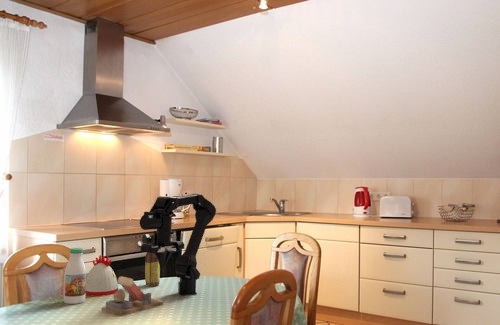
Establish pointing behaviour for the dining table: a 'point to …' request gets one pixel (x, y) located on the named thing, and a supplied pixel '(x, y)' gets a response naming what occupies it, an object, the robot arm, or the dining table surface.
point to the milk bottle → (75, 278)
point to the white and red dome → (101, 278)
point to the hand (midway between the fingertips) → (162, 268)
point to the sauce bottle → (152, 270)
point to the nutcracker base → (134, 307)
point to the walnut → (119, 296)
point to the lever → (131, 288)
